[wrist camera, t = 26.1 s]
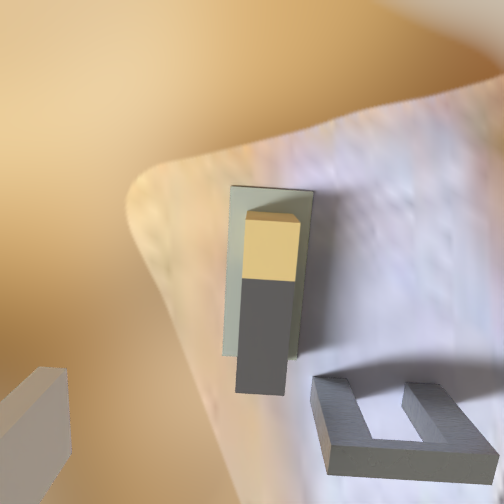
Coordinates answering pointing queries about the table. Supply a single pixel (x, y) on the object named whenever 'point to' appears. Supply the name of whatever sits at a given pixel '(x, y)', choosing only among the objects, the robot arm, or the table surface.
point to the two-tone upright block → (266, 301)
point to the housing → (395, 451)
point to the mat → (239, 205)
